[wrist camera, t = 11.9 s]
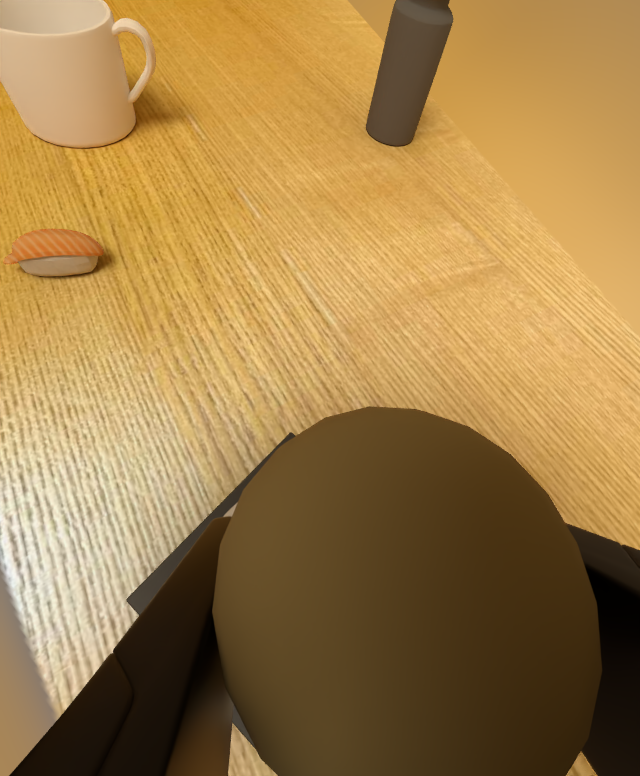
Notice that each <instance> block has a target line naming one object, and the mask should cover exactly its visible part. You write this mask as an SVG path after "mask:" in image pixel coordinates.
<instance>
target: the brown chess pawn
mask: <svg viewBox="0 0 640 776" xmlns="http://www.w3.org/2000/svg"><path fill="white" fill-rule="evenodd" d="M212 614H213V620H214V626H215V632H216V637H217V643H218V649H219V655H220V661H221V667H222V673H223V679H224V685H225V688H226V690H227V692H228V694H229V696H230V698H231V700H232V702H233V704H234V706H235V708H236V710H237V712H238V714H239V716H240V718H241V720H242V722H243V724H244V726H245V728H246V730H247V732H248V734H249V736H250V738H251V740H252V742H253V744H254V746H255V748H256V750H257V752H258V754H259V756H260V758H261V759H262V760H263V761H264V762H265V763H266V764H267V765H268V766H269V767H270V768H271V769H272V770H273V771H274V772H275V773H276V774H277V775H278V776H566V774H567V773H568V771H569V769H570V768H571V766H572V765H573V763H574V761H575V760H576V758H577V756H578V755H579V753H580V751H581V750H582V748H583V746H584V745H585V743H586V741H587V740H588V738H589V733H590V728H591V723H592V718H593V713H594V708H595V703H596V698H597V693H598V689H599V684H600V679H601V674H602V662H601V649H600V636H599V623H598V610H597V602H596V599H595V596H594V593H593V590H592V587H591V584H590V581H589V578H588V575H587V572H586V569H585V565H584V562H583V559H582V556H581V553H580V550H579V547H578V544H577V542H576V540H575V539H574V537H573V535H572V534H571V532H570V530H569V529H568V527H567V525H566V524H565V522H564V520H563V519H562V517H561V515H560V514H559V512H558V510H557V509H556V507H555V505H554V504H553V502H552V500H551V499H550V497H549V495H548V494H547V492H546V491H545V490H544V489H543V488H542V487H541V486H540V485H539V484H538V483H537V482H536V481H535V480H534V479H533V478H532V476H531V475H530V474H529V473H528V472H527V471H526V470H525V469H524V468H523V467H522V466H521V465H520V464H519V463H518V462H517V461H516V460H515V459H514V457H513V456H512V455H511V454H509V453H508V452H506V451H505V450H503V449H502V448H500V447H499V446H497V445H496V444H494V443H493V442H491V441H490V440H488V439H487V438H485V437H484V436H482V435H481V434H479V433H478V432H476V431H475V430H473V429H471V428H470V427H468V426H465V425H462V424H459V423H456V422H453V421H450V420H448V419H445V418H442V417H439V416H436V415H433V414H430V413H427V412H424V411H420V410H416V409H404V408H386V407H366V408H362V409H358V410H354V411H350V412H346V413H342V414H338V415H334V416H330V417H326V418H324V419H322V420H321V421H319V422H317V423H316V424H314V425H313V426H311V427H310V428H308V429H306V430H305V431H303V432H302V433H300V434H298V435H297V436H295V437H294V438H292V439H290V440H289V441H287V442H286V443H284V444H283V445H282V446H281V447H279V448H278V449H277V450H276V451H275V452H274V454H273V455H272V456H271V457H270V458H269V460H268V461H267V462H266V463H265V464H264V465H263V467H262V468H261V469H260V470H259V471H258V473H257V474H256V475H255V476H254V477H253V479H252V480H251V481H250V482H249V483H248V485H247V486H246V487H245V488H244V489H243V491H242V494H241V496H240V498H239V501H238V503H237V506H236V508H235V510H234V513H233V515H232V517H231V520H230V522H229V524H228V527H227V529H226V532H225V534H224V536H223V539H222V541H221V543H220V549H219V558H218V566H217V575H216V584H215V592H214V601H213V610H212Z"/></svg>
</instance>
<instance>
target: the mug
mask: <svg viewBox="0 0 640 776" xmlns="http://www.w3.org/2000/svg"><path fill="white" fill-rule="evenodd" d="M121 32H130V33H133V34H135V35H137V36H138V37H139V38H140V39H141V41H142V43H143V45H144V48H145V51H146V56H147V61H146V67H145V69H144V72H143V74H142V75H141V77H140V78H139V80H138V81H137V83H136V85H135V86H134V88H133V89H132V91H131V92H130V89H129V85H128V80H127V76H126V71H125V67H124V62H123V58H122V54H121V49H120V45H119V40H118V36H117V35H118V34H120V33H121ZM155 64H156V58H155V49H154V46H153V43H152V40H151V38H150V36H149V34H148V32H147V30H146V29H145V28H144V27H143V26H141V25H140V24H139V23H138V22H137V21H135V20H132V19H129V18H124V19H119V20H118V21H117V22H114V18H113V13H112V12H111V10H110V8H109V7H108V5H107V4H106V2H104V1H103V0H0V81H1V83H2V84H3V86H4V88H5V90H6V92H7V93H8V95H9V97H10V99H11V100H12V102H13V104H14V106H15V108H16V109H17V111H18V113H19V115H20V116H21V118H22V120H23V122H24V124H25V126H26V127H27V128H28V129H29V130H30V131H31V132H32V134H34V135H36V136H37V137H39V138H41V139H43V140H44V141H47V142H50V143H53V144H56V145H59V146H66V147H72V148H90V147H99V146H104V145H107V144H111V143H114V142H116V141H118V140H120V139H123V138H124V137H125V136H127V135H128V134H129V133H130V132H131V131H132V129H133V127H134V125H135V123H136V116H135V111H134V107H133V102H135V101H136V100H137V99H138V97H139V96H140V94H141V93H142V91H143V90H144V88H145V87H146V85H147V84H148V82H149V81H150V79H151V77H152V75H153V73H154V71H155Z"/></svg>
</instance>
